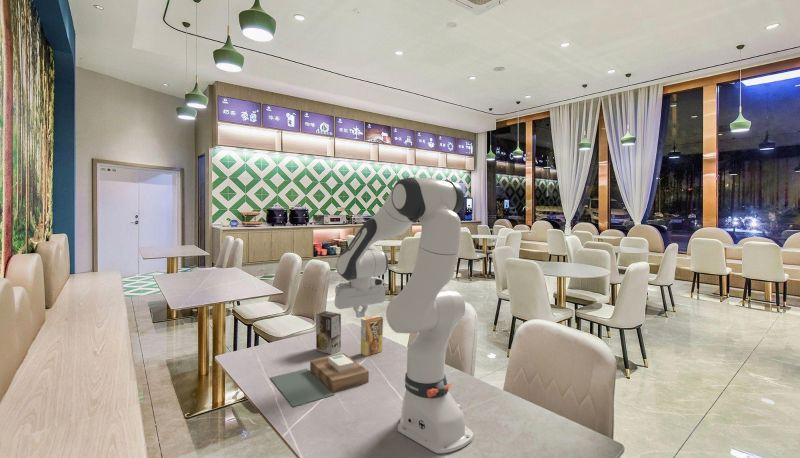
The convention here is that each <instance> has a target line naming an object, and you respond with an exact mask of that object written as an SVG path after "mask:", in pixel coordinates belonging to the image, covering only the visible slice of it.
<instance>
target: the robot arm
mask: <svg viewBox="0 0 800 458" xmlns="http://www.w3.org/2000/svg"><path fill="white" fill-rule="evenodd" d="M464 200H465V196H464V191H463V188H462V187H461V186H460V185H459V184H458V183H457V182H455V181H452V180H447V179H445V180H443V179H439V178H438V179H437V178H432V177H412V176H411V177H405V178H402V179H398V180H397V181H396V183H395V184H394V186H393V187H392V189H391V191H390V192H389V194H388V195H387V197H386V199H385V201H384V203H383V205H382V206H381V207H380V209H379V210H378V211H377V212H376V213H375V214H373V216H371V218H369V219H368V220H366V221H365V222H364V223H363V224H362V225H361V227H360V228H359V230H358V231H357V232H356V234H355V236H354V237H353V238H352V240H351V241H350V243H349V244H348V246H347V248H345V249H344V250H343V251H342V252H341V253H340V255H339V256H338V257H337V259H336V271H337V273H338V275H339V276H341V278H343V279H345V280H346V281H348V282H344V283H343V282H341V283H338V285H336V286H335V290H334V291H335V293H334V294H335V296H334V306H335V308H337V309H338V310H344V309H351V308H353V311H354V312H355V318H357V319H361V318H366V317H365V316H366V312H367V310H368V306H370V305H376V304H381V303H384V302H385V300H386V290H385V286H384V284H385V280H384V279H382V278H381V277H380V276H383V275H384V274H385V273H386V272H387V270H388V268H389V258H388V255H387V253H386V252H385V251H384V250H382V249H379V248H378V247H376V246H375V245H374V244H375V243H377V242H379V241H382V240H385V239H390V238H393V237H398V236H401V235H404V234H405V233H406V232H407V231H408V230H409V229H410V228H411V227H412V225H413V223H415V222H417V221H419V222H420V225H421V233H420V238H419V243H418V247H417V248H418V249H417V252H416V253H417V254H416V259H415V263H414V267H413V270H412V273H411V276H410V277H409V279H408V281H407V282H406V284H405V286H404V287H403V289H402V290H401V291H400V292H399V293H398V294H397V295H396V296H394V298H392V299H391V300H390V301H389V302H388V304H387V306H386V309H385V310H386V311H385V317H386V321H387V324H388V326H389V327H390V328H391V330H392V331H394V333H396V334H417V333H418V334H417V336H416V337H415V339H414V340H413V341H412V342H411V343H410V344H409V345H408V348H407V351H406V373H405V375H404V376H405V377H404V388H405V392H404V396H403V399H402V405H401V406H402V407H401V413H400V414H401V415H400V419H399V421H400V422H399V423H398V425H397V432H398V433H401V434H402V435H404V436H406V437H407V438H409V439H410V440H412V441H414V442H416V443H418V444H419V445H421V446H422V447H424V448H425V449H428V450H430V451H431V452H434V453H435V454H447V453H451V452H455V451H457V450H460V449H462V448H464V447H466V446H467V445H469V444H470V443H471V442H472V441H473V440H474V437H475V435H474V432H473V431H472V430H471V429H470V428H469V427H468V426H467V425H466V420H465V415H464V413H463V411H462V406H461V404H459V403H457V402H456V401H455V399H454V397H452V394H451V393H450V392H449V389H450V388H451V385H452V384H451V383H449V384H448V382H447V381H448V380H447V377H446V373H445V371H446V370H445V368H446V367H445V366H446V353H447V347H448V344H449V340H450V338H451V336H452V333H453V331H454V330H455V328H456V327H457V325H458V324H459V322H460V321H461V320H462V319H463V317H464V316H465V313H466V303H465V300H464V298H463V296H462V294H461V293H460V292H458V291H457V290H455V289H444V287H445V286H447V284H449V283H450V282H451V280H452V279H453V277H454V274H455V270H456V266H457V260H458V255H459V249H460V242H461V227H462V226H461V218H460V216H459V215H458V213H460V211H461V209H462V208H463V205H464ZM360 307H362V309H361V311H359V310H360Z"/></svg>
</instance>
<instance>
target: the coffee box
mask: <svg viewBox="0 0 800 458" xmlns="http://www.w3.org/2000/svg"><path fill="white" fill-rule="evenodd" d="M341 320H342V314H341V313H337V312H332V311H327V310H325V311H322V312H319V313H317V314H315V334H316V335H315V338H316V341H315V342H316V344H315V345H316V346H315V347H316V351H317V352H321V353H325V354H328V355H330V356H333V355H335V354H336V353H338V352H341V351H342V350H341V349H342V347H341V346H342V345H341V344H342V343H341V342H342V341H341V340H342V338H341V337H342V334H341V333H342V331H341V329H342V326H341V325H342V321H341Z"/></svg>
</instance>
